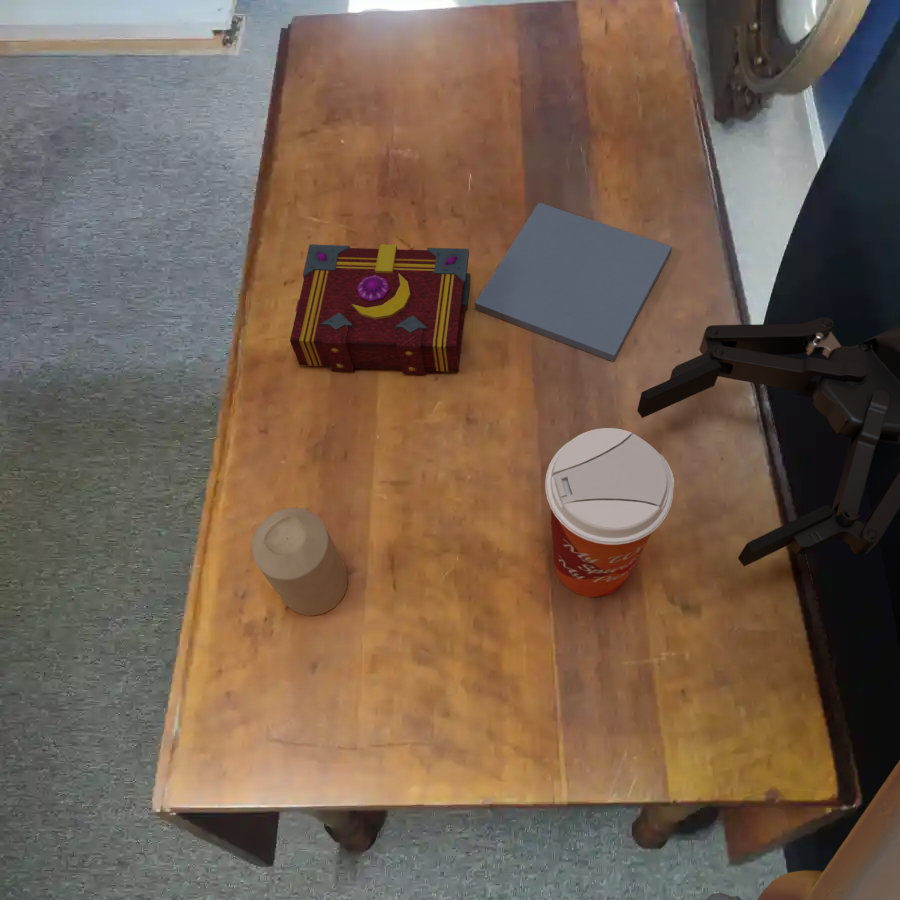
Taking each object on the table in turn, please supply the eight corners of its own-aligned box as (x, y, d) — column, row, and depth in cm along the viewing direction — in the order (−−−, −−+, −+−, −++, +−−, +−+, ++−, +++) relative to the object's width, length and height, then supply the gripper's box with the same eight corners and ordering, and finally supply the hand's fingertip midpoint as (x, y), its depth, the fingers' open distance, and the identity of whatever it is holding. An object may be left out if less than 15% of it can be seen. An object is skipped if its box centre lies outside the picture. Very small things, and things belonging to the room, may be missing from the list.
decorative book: (460, 377, 76) (456, 345, 72) (286, 370, 78) (272, 337, 74) (471, 279, 82) (468, 243, 77) (308, 274, 83) (296, 239, 79)
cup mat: (613, 362, 76) (614, 355, 75) (475, 309, 80) (474, 302, 79) (670, 253, 81) (672, 246, 81) (538, 209, 85) (538, 202, 84)
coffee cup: (555, 622, 65) (565, 548, 52) (528, 526, 69) (531, 435, 56) (660, 598, 65) (697, 519, 52) (627, 504, 69) (654, 408, 56)
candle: (305, 540, 70) (275, 486, 61) (361, 570, 68) (338, 519, 59) (266, 596, 67) (229, 549, 59) (323, 629, 66) (294, 585, 57)
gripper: (1025, 518, 62) (779, 643, 59) (814, 283, 73) (600, 377, 70) (1085, 471, 55) (813, 609, 52) (844, 221, 67) (609, 322, 64)
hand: (690, 476), depth 61 cm, fingers open, 13 cm apart
